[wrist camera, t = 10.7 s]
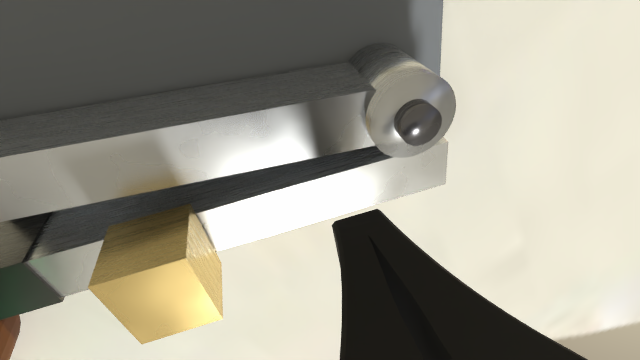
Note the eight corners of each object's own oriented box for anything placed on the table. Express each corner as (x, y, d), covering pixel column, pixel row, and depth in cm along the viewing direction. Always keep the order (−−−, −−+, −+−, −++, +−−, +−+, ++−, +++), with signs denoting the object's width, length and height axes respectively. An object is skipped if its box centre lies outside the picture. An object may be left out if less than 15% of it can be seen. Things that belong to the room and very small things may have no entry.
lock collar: (189, 203, 11) (185, 258, 9) (221, 263, 12) (222, 318, 11) (108, 226, 10) (87, 287, 9) (151, 284, 12) (141, 344, 10)
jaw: (412, 37, 12) (472, 72, 9) (408, 108, 14) (458, 156, 11) (-107, 121, 10) (-232, 200, 7) (-42, 195, 11) (-123, 282, 9)
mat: (445, -312, 8) (457, -323, 8) (430, 148, 16) (436, 154, 15) (-355, -182, 7) (-392, -189, 6) (57, 254, 14) (53, 264, 14)
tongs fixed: (414, 107, 14) (449, 140, 12) (414, 150, 15) (446, 187, 13) (-7, 222, 12) (-51, 283, 10) (31, 259, 14) (-2, 320, 11)
